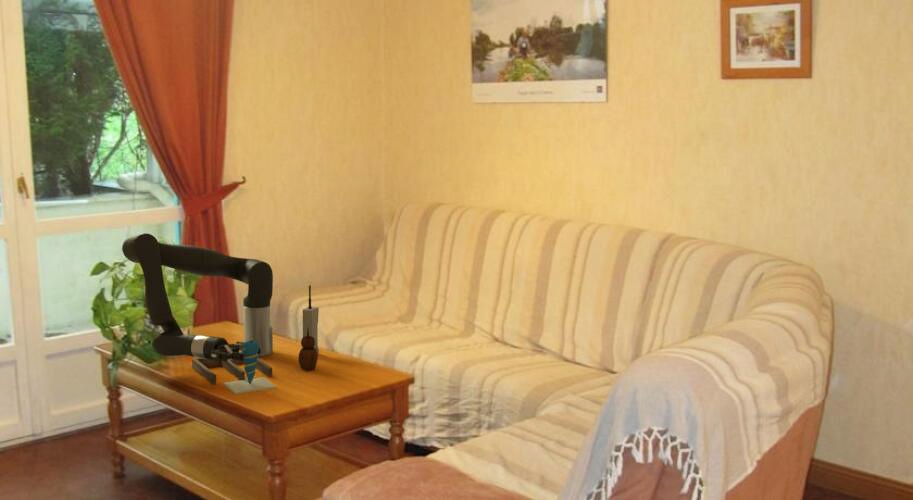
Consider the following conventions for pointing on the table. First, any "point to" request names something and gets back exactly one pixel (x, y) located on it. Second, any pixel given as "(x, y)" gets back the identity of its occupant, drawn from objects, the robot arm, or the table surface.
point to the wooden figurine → (308, 353)
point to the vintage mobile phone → (311, 321)
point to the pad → (249, 385)
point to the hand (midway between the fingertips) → (251, 354)
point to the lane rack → (229, 365)
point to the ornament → (250, 358)
